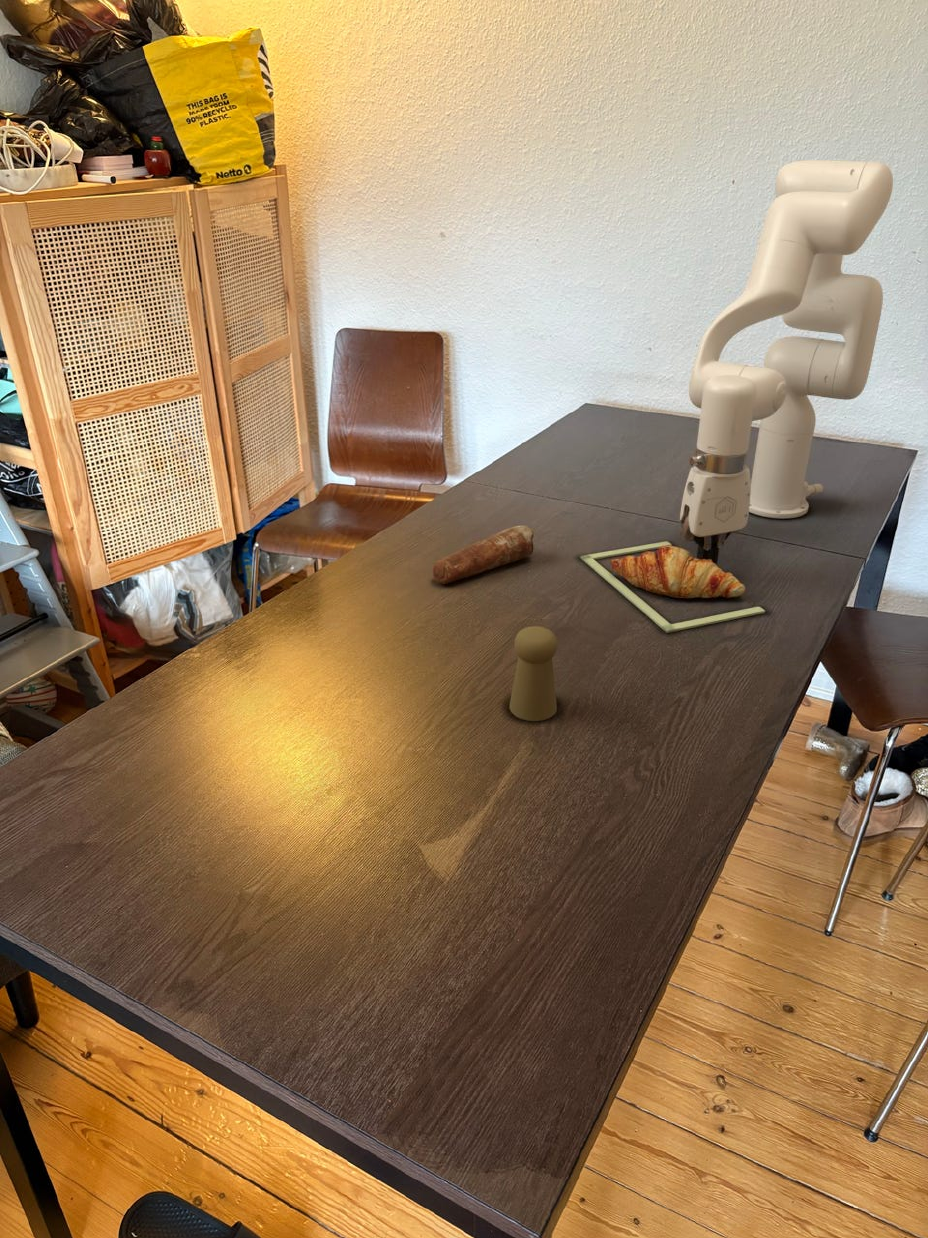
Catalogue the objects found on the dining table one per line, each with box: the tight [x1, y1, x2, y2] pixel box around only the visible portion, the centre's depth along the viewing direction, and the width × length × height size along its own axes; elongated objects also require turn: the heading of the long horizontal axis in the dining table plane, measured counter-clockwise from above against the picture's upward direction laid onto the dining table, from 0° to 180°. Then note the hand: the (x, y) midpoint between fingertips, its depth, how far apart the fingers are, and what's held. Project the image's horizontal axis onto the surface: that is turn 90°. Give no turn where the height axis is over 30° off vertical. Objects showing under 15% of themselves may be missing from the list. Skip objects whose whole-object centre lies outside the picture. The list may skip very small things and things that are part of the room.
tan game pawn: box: [508, 625, 558, 722], centre depth 112 cm, size 6×6×11 cm
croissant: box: [610, 545, 746, 599], centre depth 143 cm, size 21×10×8 cm
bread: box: [432, 524, 535, 585], centre depth 149 cm, size 6×19×6 cm, turn 126°
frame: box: [579, 540, 766, 634], centre depth 145 cm, size 17×28×1 cm, turn 21°
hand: (705, 568), depth 147 cm, fingers closed
